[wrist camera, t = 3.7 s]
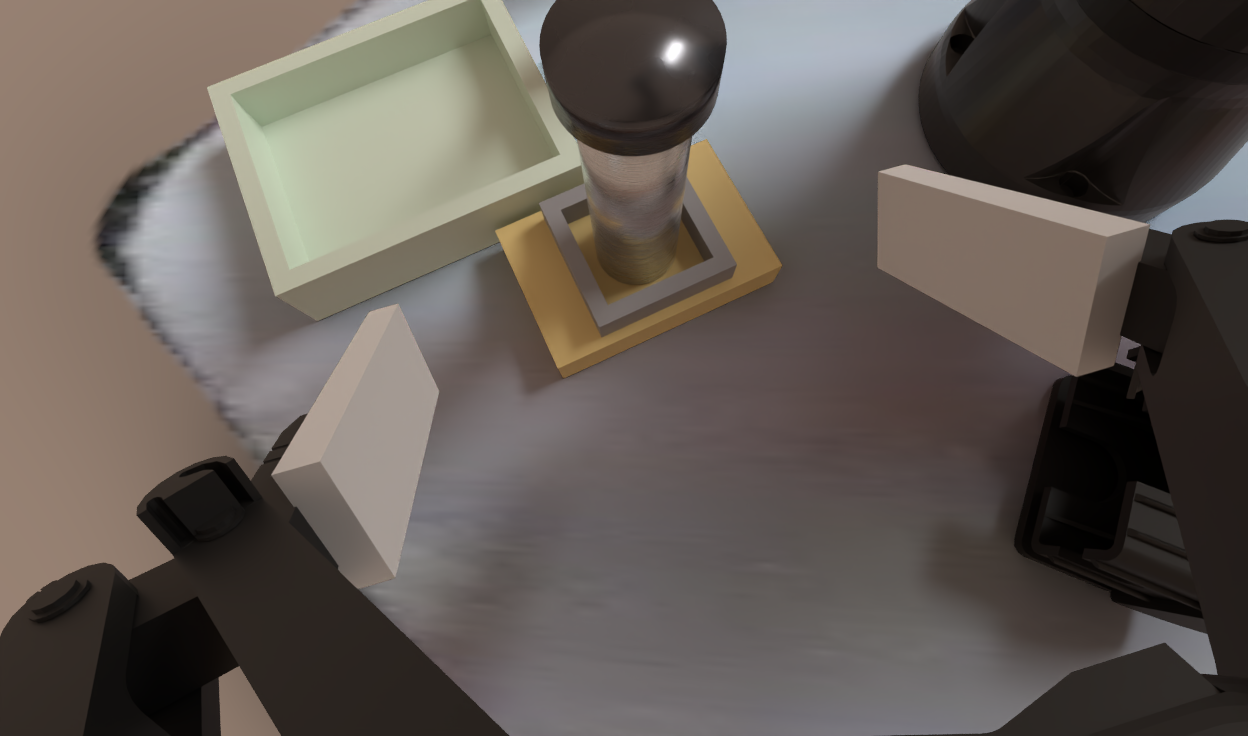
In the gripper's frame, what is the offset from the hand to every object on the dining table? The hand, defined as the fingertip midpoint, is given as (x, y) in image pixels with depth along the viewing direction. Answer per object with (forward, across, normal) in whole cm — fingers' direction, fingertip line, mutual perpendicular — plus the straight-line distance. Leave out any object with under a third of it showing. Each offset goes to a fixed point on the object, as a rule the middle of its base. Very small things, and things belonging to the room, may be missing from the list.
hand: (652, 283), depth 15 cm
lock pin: (+13, +1, -3) cm, 13 cm away
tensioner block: (+14, +1, -4) cm, 15 cm away
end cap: (+2, +19, -17) cm, 26 cm away
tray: (+21, -9, +2) cm, 23 cm away
